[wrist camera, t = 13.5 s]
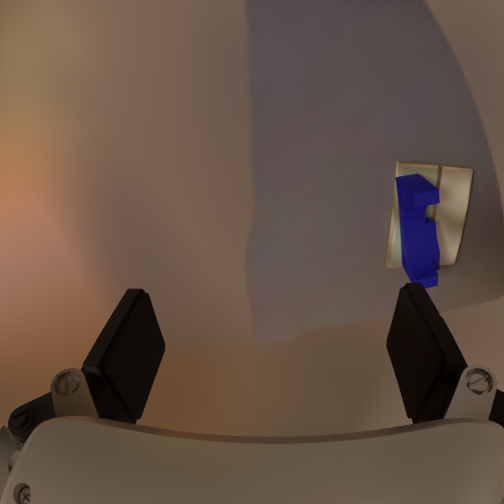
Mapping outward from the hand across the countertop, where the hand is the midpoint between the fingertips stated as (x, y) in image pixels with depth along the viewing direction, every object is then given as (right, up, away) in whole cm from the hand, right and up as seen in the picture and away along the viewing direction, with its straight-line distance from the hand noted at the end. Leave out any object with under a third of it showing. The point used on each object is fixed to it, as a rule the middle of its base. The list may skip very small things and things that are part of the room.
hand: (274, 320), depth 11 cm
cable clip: (+19, +6, +24) cm, 31 cm away
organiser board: (+22, +7, +24) cm, 34 cm away
